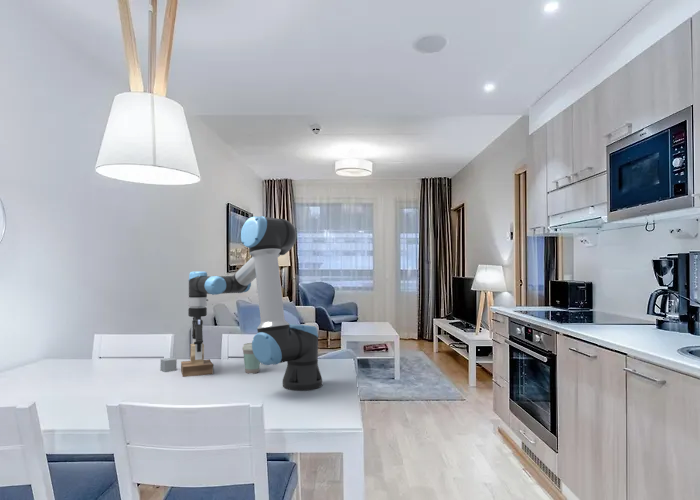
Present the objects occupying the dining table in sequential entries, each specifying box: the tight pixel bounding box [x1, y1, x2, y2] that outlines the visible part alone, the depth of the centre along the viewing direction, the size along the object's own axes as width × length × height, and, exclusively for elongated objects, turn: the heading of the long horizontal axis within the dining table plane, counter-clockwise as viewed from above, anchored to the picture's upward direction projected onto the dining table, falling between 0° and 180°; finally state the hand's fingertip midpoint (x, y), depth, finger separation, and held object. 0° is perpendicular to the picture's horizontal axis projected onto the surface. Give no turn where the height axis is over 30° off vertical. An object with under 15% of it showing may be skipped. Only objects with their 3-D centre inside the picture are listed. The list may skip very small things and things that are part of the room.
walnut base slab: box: [180, 359, 214, 378], centre depth 193 cm, size 12×12×4 cm
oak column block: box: [189, 342, 205, 365], centre depth 193 cm, size 5×5×8 cm
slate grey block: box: [160, 357, 178, 373], centre depth 197 cm, size 5×5×5 cm
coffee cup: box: [242, 342, 261, 374], centre depth 194 cm, size 8×8×12 cm
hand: (197, 356), depth 193 cm, fingers open, 13 cm apart
